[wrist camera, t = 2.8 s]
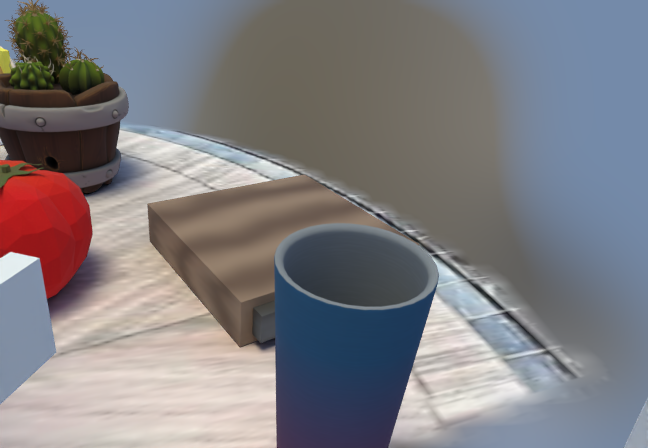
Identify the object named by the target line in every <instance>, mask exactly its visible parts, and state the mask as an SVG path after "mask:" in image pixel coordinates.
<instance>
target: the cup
mask: <svg viewBox="0 0 648 448" xmlns="http://www.w3.org/2000/svg"><path fill="white" fill-rule="evenodd" d="M438 277H439V273H438V269H437V266H436V264H435V262H434V261H433V259H432V257H431V256H430V255H429V254H428V253H427V252H426V251H425V250H424V249H423V248H421V247H420V246H418V245H417V244H416V243H414V242H412V241H410V240H409V239H407V238H405V237H403V236H400V235H398V234H396V233H393V232H390V231H387V230H384V229H380V228H376V227H371V226H366V225H359V224H350V223H332V224H321V225H316V226H310V227H307V228H304V229H301V230H298V231H296V232H294V233H292V234H290V235H289V236H288V237H286V238H285V239H284V240H282V242H281V243H280V244H279V246H278V247H277V249H276V252H275V256H274V279H275V351H276V424H277V448H388V446H389V442H390V439H391V436H392V433H393V429H394V426H395V423H396V419H397V416H398V413H399V409H400V406H401V403H402V400H403V396H404V393H405V390H406V386H407V383H408V380H409V376H410V373H411V370H412V367H413V363H414V360H415V357H416V353H417V350H418V347H419V343H420V340H421V337H422V333H423V330H424V327H425V324H426V320H427V317H428V314H429V310H430V307H431V304H432V300H433V297H434V294H435V291H436V287H437V284H438Z"/></svg>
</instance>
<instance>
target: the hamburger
mask: <svg viewBox="0 0 648 448" xmlns="http://www.w3.org/2000/svg"><path fill="white" fill-rule="evenodd" d="M10 62H11V63H10ZM9 63H10V67H11V69H12V68H15V65H14V63H13V61H12V60H11V58H10V55H9V51H8V50H5V49H3V48H2V47H1V46H0V74H4V73H10V72H11V69H10V67H9ZM0 145H3V143H2V141H1V139H0Z"/></svg>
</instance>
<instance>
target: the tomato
mask: <svg viewBox="0 0 648 448" xmlns="http://www.w3.org/2000/svg"><path fill="white" fill-rule="evenodd" d="M31 165H37V164H29V163H26V162H24V161H11V160H0V258H2V257H3V256H5V255H6V254H8V253H10V252H13V253H18V254H23V255H27V256H32V257H37V258H40V263H41V269H42V274H43V280H44V286H45V291H46V297H47V299H48V298H50V297H52V296H54V295H56V294H57V293H58V292H59V291H60V290H61V289H62V288H63V287H64V286H65V285H66V284H67V283H68V282H69V281H70V280H71V278H72V277H73V276H74V274H75V273H76V272H77V270H78V269H79V267H80V266H81V264H82V263H83V261H84V260H85V258H86V257H87V253H88V250H89V246H90V242H91V238H92V224H91V216H90V208H89V205H88V203H87V201H86V199H85V197H84V195H83V193H82V191H81V189H80V187H79V186H78V185H76V184H75V183H74V182H73V181H71V180H70V179H69V178H68V177H67V176H65V175H64V174H63V173H58V172H52V171H46V170H39V169H42V168H39V169H37V168H35V167H33V166H31ZM38 165H41V164H38Z"/></svg>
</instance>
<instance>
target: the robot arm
mask: <svg viewBox="0 0 648 448" xmlns="http://www.w3.org/2000/svg"><path fill="white" fill-rule="evenodd" d="M55 353H56V348H55V342H54V336H53V331H52V325H51V320H50V314H49V308H48V303H47V297H46V291H45V286H44V280H43V274H42V269H41V263H40V258H37V257H32V256H27V255H23V254H18V253H13V252H10V253H8V254H6V255H5V256H3V257H2V258H0V404H1V403H2V402H3V401H4V400H5V399H6V398H8V397H9V396H10V395H11V394H12V393H13V392H14V391H15V390H16V389H17V388H18V387H19V386H20V385H22V384H23V383H24V382H25V381H26V380H27V379H28V378H29V377H30V376H31V375H32V374H33V373H34V372H36V371H37V370H38V369H39V368H40V367H41V366H42V365H43V364H44V363H45V362H46V361H47V360H48V359H49V358H51V357H52V356H53V355H54V354H55ZM624 448H648V398H647V400H646V402H645V404H644V406H643V408H642V411H641V413H640V415H639V417H638V419H637V421H636V423H635V425H634V427H633V429H632V432H631V434H630V436H629V438H628V440H627V442H626V444H625V446H624Z"/></svg>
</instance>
